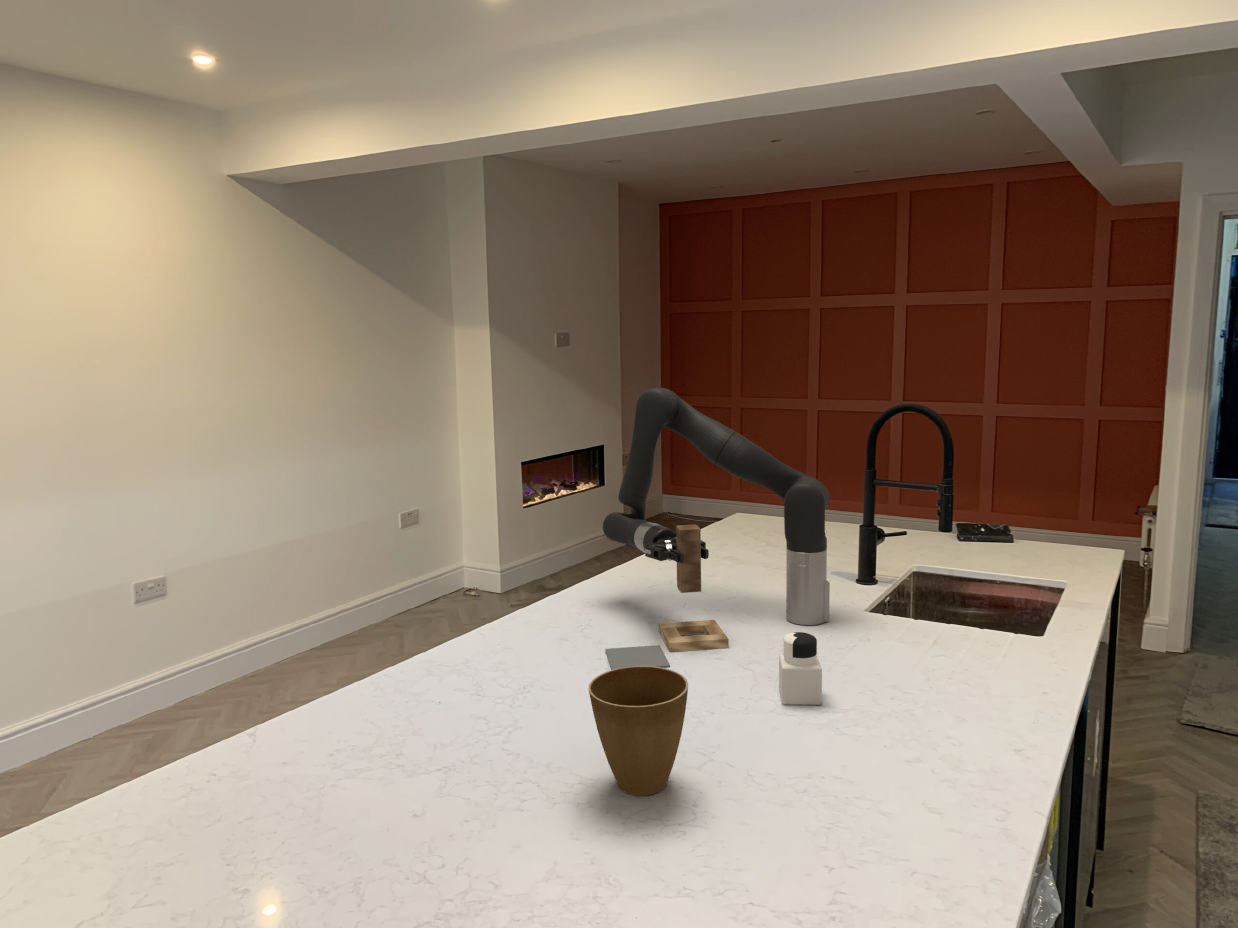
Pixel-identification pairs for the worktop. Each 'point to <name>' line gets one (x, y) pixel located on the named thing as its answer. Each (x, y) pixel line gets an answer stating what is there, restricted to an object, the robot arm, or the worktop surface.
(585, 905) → the worktop surface
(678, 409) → the robot arm
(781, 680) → the medicine bottle
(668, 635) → the oak socket
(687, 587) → the walnut post
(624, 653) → the grey mat
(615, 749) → the plant pot
